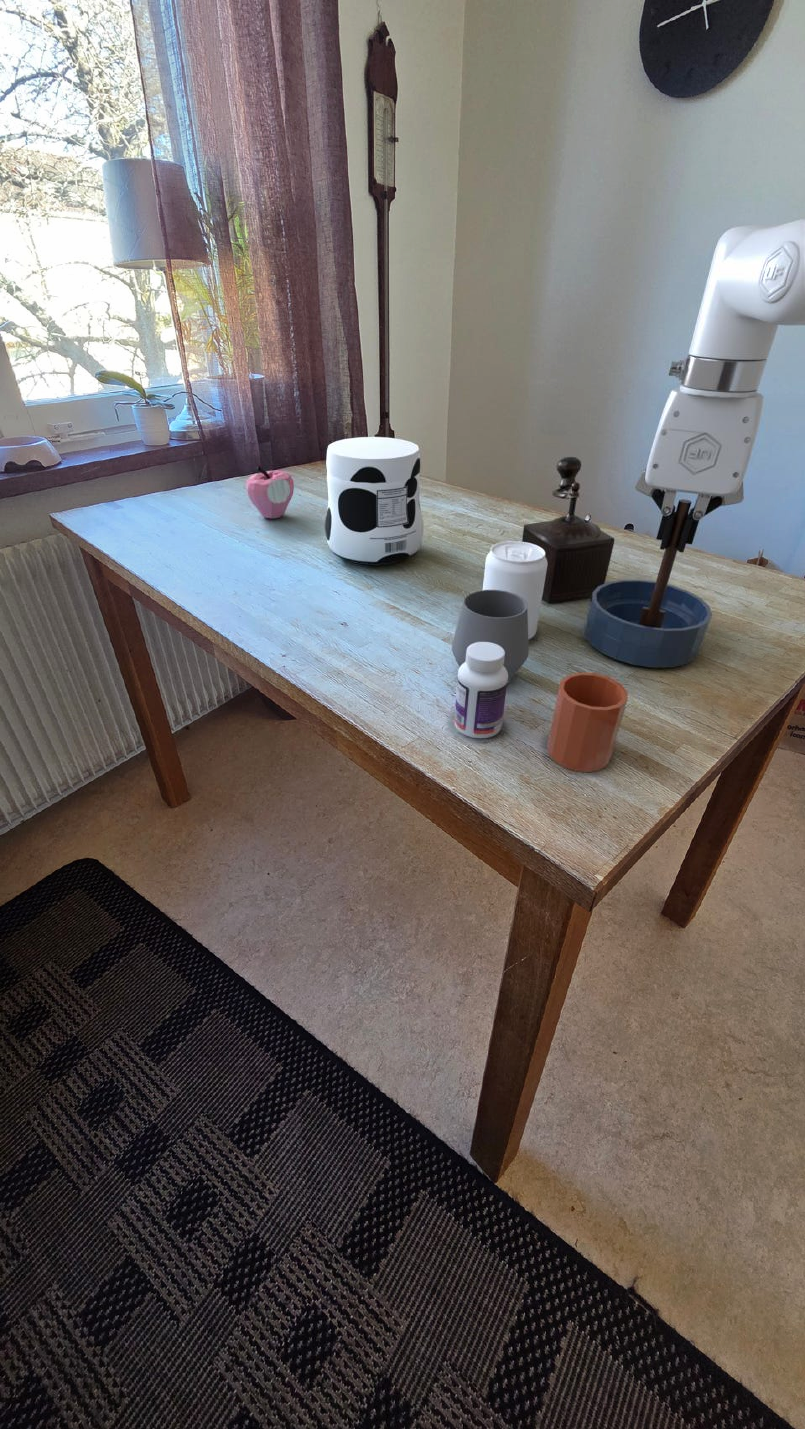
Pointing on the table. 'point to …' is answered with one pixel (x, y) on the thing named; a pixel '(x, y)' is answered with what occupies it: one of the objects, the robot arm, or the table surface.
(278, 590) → the table surface
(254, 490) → the apple
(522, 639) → the cup
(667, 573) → the stirring stick
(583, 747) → the utensil pot
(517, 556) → the beverage can
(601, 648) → the bowl
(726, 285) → the robot arm
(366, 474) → the milk container
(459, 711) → the pill bottle
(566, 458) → the manual coffee grinder
